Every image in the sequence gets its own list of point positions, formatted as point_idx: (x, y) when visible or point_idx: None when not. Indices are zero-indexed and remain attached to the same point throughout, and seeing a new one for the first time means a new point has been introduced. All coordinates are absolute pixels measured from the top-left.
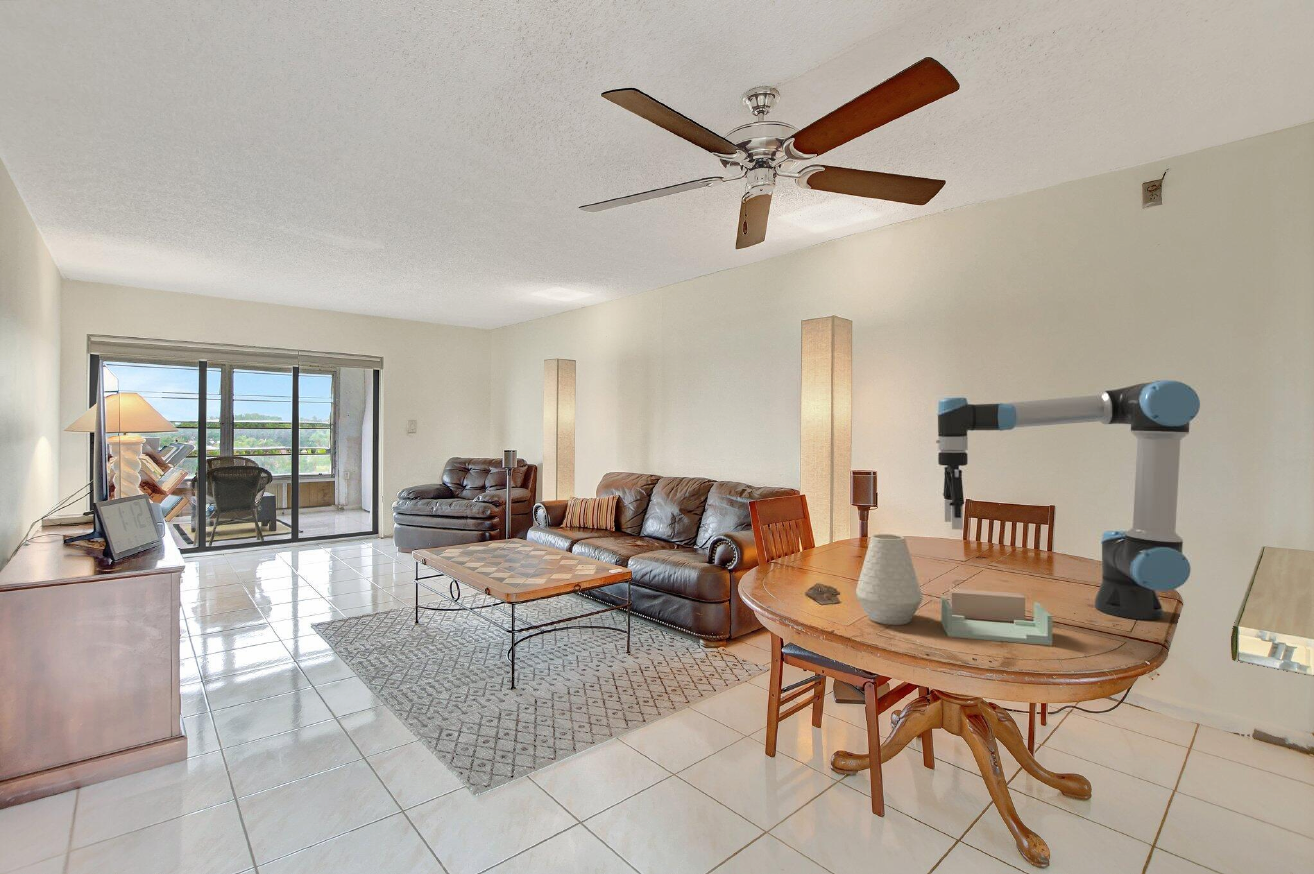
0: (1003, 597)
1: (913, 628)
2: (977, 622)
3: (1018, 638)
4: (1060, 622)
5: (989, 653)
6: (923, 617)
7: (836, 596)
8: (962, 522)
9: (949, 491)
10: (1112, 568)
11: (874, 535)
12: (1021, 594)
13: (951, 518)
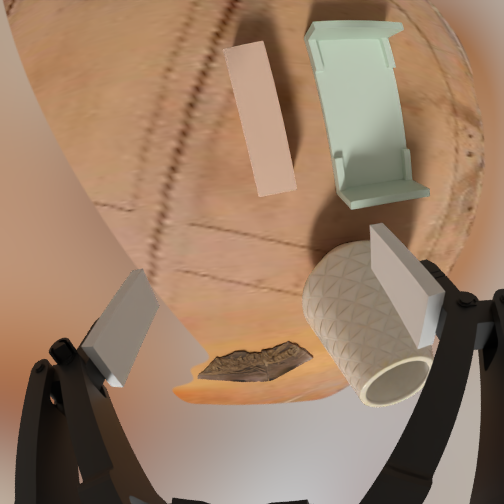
0: (273, 81)
1: None
2: (340, 134)
3: (394, 79)
4: (228, 5)
5: (448, 131)
6: (319, 224)
7: (262, 351)
8: (397, 238)
9: (112, 423)
10: None
11: (383, 404)
12: (235, 47)
13: (391, 297)
